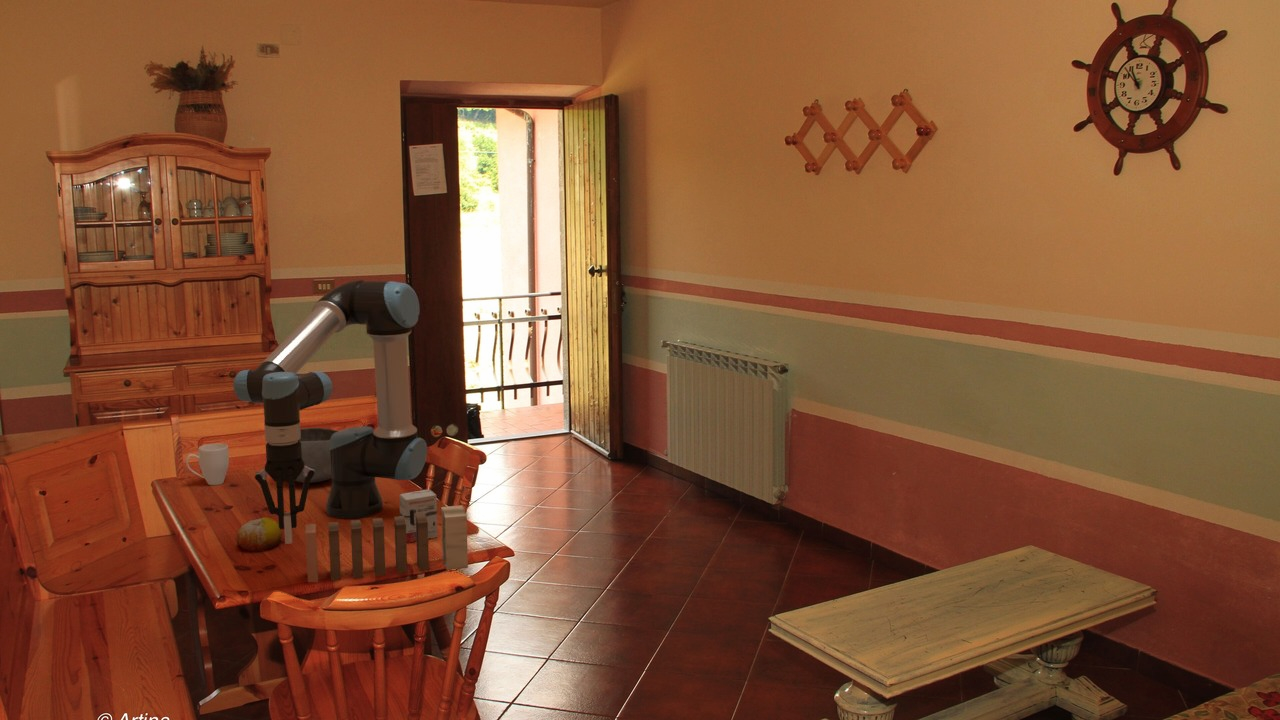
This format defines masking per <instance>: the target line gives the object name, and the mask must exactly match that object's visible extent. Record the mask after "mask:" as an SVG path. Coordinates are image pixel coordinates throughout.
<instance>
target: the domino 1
mask: <svg viewBox="0 0 1280 720" xmlns="http://www.w3.org/2000/svg"><path fill="white" fill-rule="evenodd" d="M304 535H305V549H306V551H305V552H306V553H305V554H306V571H307V572H306V573H307V583H308V582H314V583H313V584H315V583H316V584H317V583H319V565H318V547H317V546H318V545H317V525H316V523H310V524H309V523H308V524H305V534H304Z"/></svg>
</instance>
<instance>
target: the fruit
mask: <svg viewBox="0 0 1280 720" xmlns="http://www.w3.org/2000/svg"><path fill="white" fill-rule="evenodd" d="M282 538H283V533H282V529H280V528H279V522H277V521H275V520H274V519H273V518H270V517H265V516H264V517H260V518H257V519H251V520H248V521H247V522H246V523H245V524H242V525H241V526H240V528H239V529H238V531H237V532H236V537H235V539H236V542H237V546H239V547H241V548H242V550H243V551H247V552H251V553H252V552H264V551H268V550H271V549H274V548H275V547H277V546H279V545H280V544H281V542H282Z"/></svg>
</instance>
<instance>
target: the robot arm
mask: <svg viewBox="0 0 1280 720" xmlns="http://www.w3.org/2000/svg"><path fill="white" fill-rule="evenodd" d="M420 314H421V313H420V302H419V297H418V295H417V293H416V292H415V290H414V289H413V288H412V286H411V285H409V284H407V283H404V282H399V281H394V280H392V281H391V280H390V281H388V280H364V279H363V280H360V279H359V280H358V279H357V280H352V281H348V282H345V283H342V284H341V285H338V286H337V287H334V288H333V289H332V290H329V292H327V293H326V294H324V295H323V296H322V297H321V298H320V299H319V300H317V301H316V302H315V303H314V304H313V306H312V308H311V312H310V314H309V315H308V316H307V317H306V318H305V319H304V320H303V321H302V322H301V323H300V324H299V325H298V326H297V327H296V328H295V329H294V330H293V331H292V332H291V333H290V334H289V335H288V336H287V337H286V338H285V339H284V340H283V341H282V342H281V343H280V344H279V345H278V346H277V347H276V348H275V349H274V350H273V351H272V352H271V353H270V354H269V355H268V356H267V357H266V358H265V359H264V360H263V361H262V362H261V363H260V364H259V365H258V366H257V367H256V368H255V369H244V370H240V371H239V372H238V373H237V374H236V376H235V377H234V380H233V392H234V394H235V397H237V399H239V400H240V401H244V402H249V403H252V404H254V403H255V404H257V403H258V404H263V414H264V415H263V416H264V417H263V418H264V439H265V442H267V443H266V444H265V457H266V458H265V459H266V461H265V462H266V463H265V464H264V468H263V469H261V471H256V472H255V476H254V479H255V481H256V482H257V483H258V484H259V485H260V488H261V491H262V494H263V497H264V501H265V503H266V505H267V509H268V511H269V512H268V513H269V514H270V515H276V516H277V517H278V525H279V528H280V529H281V530H284V544H285V545H288V544H290V545H291V544H293V529H296V528H297V524H298V522H297V521H298V520H297V518H298V517H297V514H298V513H301V512H304V511H305V506H306V502H307V497H308V492H309V487H310V484H311V483H310V480H311V479H312V477H313V475H314V468H309V467H307V466H305V464H304V462H303V460H302V450H301V442H300V441H299V439H300V438H301V430H300V429H301V420H300V419H301V418H300V411H302V410H305V409H309V408H311V407H313V406H319V405H320V404H322V403H323V402H326V401H327V400H329V398H331V396H332V394H333V390H334V389H333V388H334V387H333V382H332V380H331V378H330V377H329V376H328V374H326V373H324V372H323V371H309V372H308V373H298V372H299V371H300V370H301V369H302V368H303V367H304V365H306V364H307V362H308V361H309V360H310V359H311V358H313V356H314V355H315V354H316V353H317V352H318V351H319V350H320V349H321V348H322V347H323V345H324V344H326V342H327V341H328V340H329V339H330V338H331V337H333V335H334V334H336V333H340V332H342V331H343V330H344V329H345V328H346V327H348V326H350V325H365V329H366V334H367V335H368V337H369V338H371V340H372V343H373V345H372V347H373V359H374V360H373V361H374V373H375V374H374V375H375V377H374V378H375V390H376V392H375V394H376V403H377V404H376V406H377V419H378V420H377V421H378V422H377V423H378V426H377V427H376V428H375V429H374V428H373V427H371V426H367V425H366V426H355V427H350V428H344V429H341V430H337V431H338V432H335V433H334V434H333V435H332V436H331V438H330V456H331V475H332V478H331V486H330V490H329V494H328V498H327V500H326V504H325V505H326V506H325V509H326V514H327V515H328V516H330V517H333V518H337V519H346V520H347V519H349V520H350V519H360V518H366V517H369V516H373V515H376V514H378V513H380V512H381V511H382V510H383V508H384V505H383V504H384V503H383V498H382V495H381V492H380V491H379V490H380V489H379V488H378V486H377V483H376V478H379V479H380V478H381V479H390V480H396V481H403V480H404V481H411V480H414V479H415V478H417V477H418V476H419V475H420V474H421V473H422V470H423V468H424V467H425V465H426V464H425V463H426V461H427V454H428V446H427V445H428V444H427V442H426V440H425V439H423V438H421V437H419V436H418V435H419V434H418V428H417V427H416V426H415V425H413V424H412V418H411V417H412V415H411V397H410V396H411V395H410V382H409V381H410V380H409V363H408V362H409V361H408V345H407V343H408V342H407V338H408V336H409V335H410V334H411V333H412V328H413V327H414V326H415V325H416V324H417V323H418V321H419V316H420ZM302 470H303V471H304V473H303V475H304V477H305V478H304V483H303V485H302V487H301V492H300V493H301V494H300V497H299V498H300V499H299V503H298V505H297V501H296V487H295V486H296V484H295V483H296V481H295V480H296V479H297V477H298V476H299V475H300V473H301V472H302ZM268 476H269V477H270V478H271V479H272V480H273V481H274V482H275V483H276V484H275V485H276V487H275V488H276V498H277V506H276V505H275V502H274V499H273V496H272V494H271V490H270V488H269V484H268V481H267V478H268ZM283 483H288V497H289V512H285V502H284V501H285V499H284V484H283Z"/></svg>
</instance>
